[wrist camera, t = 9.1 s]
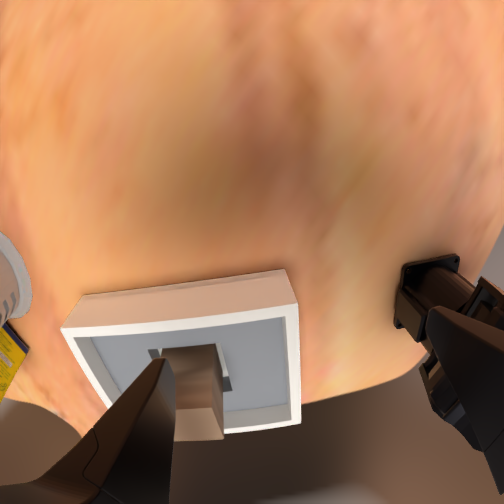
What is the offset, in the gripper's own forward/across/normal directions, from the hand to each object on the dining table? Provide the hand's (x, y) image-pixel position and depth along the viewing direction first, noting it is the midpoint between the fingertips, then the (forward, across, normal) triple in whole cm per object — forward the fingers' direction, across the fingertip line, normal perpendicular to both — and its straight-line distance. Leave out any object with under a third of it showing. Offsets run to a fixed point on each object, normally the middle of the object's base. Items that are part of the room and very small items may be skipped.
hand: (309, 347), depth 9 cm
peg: (+11, +7, +10) cm, 16 cm away
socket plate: (+12, +7, +10) cm, 17 cm away
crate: (+12, +7, +10) cm, 17 cm away
